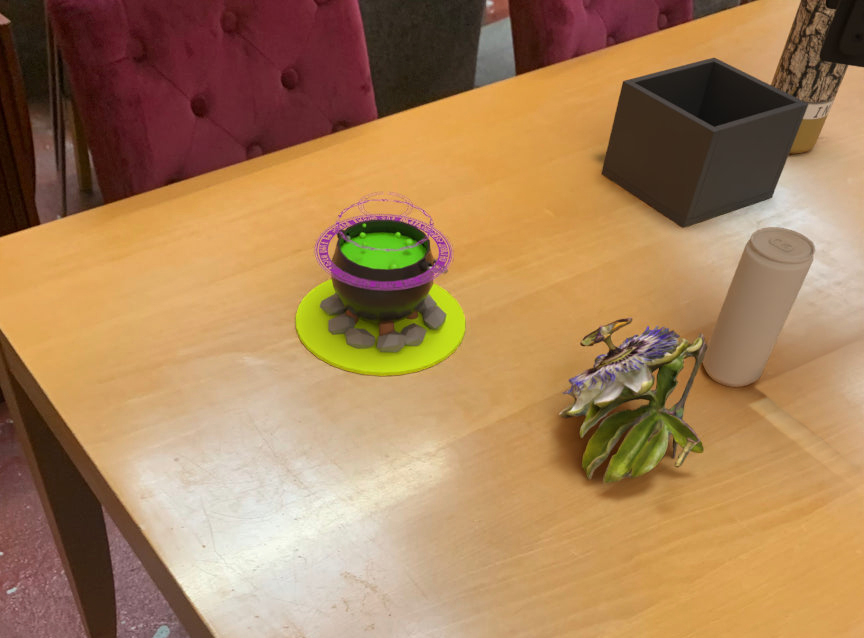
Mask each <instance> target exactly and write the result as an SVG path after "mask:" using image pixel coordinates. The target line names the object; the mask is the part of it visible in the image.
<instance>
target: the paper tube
mask: <svg viewBox="0 0 864 638" xmlns="http://www.w3.org/2000/svg"><path fill="white" fill-rule="evenodd" d="M825 2H826V0H800V2H799V4H798V7H797V10H796V13H795V16H794V19H793V21H792V24H791V26H790V27H791V28H790V30H789V32H788V36H787V38H786V41H785V44H784V47H783V50H782V52H781V55H780V58H779V61H778V63H777V67H776V69H775V72H774V75H773V77H772V80H771V83H770V85H771V86H773V87H775V88H777V89H779V90H781V91H784V92H786V93H788V94H790V95H792V96H794V97H796V98H798V99H800V100H802V101H804V102H806V103H808V107H807V109H806V112H805V115H804V117H803V120H802V122H801V125H800V127H799V130H798V132H797V135H796V137H795V140H794V143H793V145H792V148H791V150H790V153H789V155H791V154H792V155H794V154H801V153H806V152H808V151H810V150H812V149H813V148H814V147H815V145H816V144H817V142H818V139H819V138H820V135H821V133H822V130H823V127H824V125H825V123H826V120H827V118H828V115H829V113H830V112H831V109H832V106H833V105H834V101H835V100H836V97H837V94H838V93H839V90H840V87H841V85H842V82H843V80H844V78H845V75H846V73H847V70H848V68H849V66H850V65H845V64H838V63H832V62H826V61H822V60H821V59H820V50H821V48H822V45H823V42H824V40H825V37H826V35H827V32H828V29H829V27H830V24H831V22H832V19H833V17H834V14H835V11H836V10H835V9H829V8H827V7H826V5H825Z"/></svg>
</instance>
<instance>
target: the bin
mask: <svg viewBox="0 0 864 638" xmlns="http://www.w3.org/2000/svg"><path fill="white" fill-rule="evenodd" d="M807 107H808V103H806V102H804V101H802V100H800V99H798V98H796V97H794V96H792V95H790V94H788V93H786V92H784V91H781V90H779V89H777V88H775V87H773V86H771V84H769V83H768V82H766V81H763V80H761V79H759V78H757V77H755V76H753V75H751V74H749V73H747V72H745V71H743V70H741V69H738V68H737V67H735V66H732V65H731V64H728V63H726V62H724V61H722V60H720V59H718V58H717V57H711V58H707V59H703V60H702V59H701V60H699V61H695V62H690V63H688V64H684V65H678V66H676V67H673V68H668V69H664V70H660V71H657V72H653V73H652V72H651V73H649V74H645V75H641V76H638V77H637V76H636V77H633V78H630V79H625V80H623V81H622V84H621V88H620V92H619V97H618V100H617V105H616V109H615V114H614V118H613V122H612V125H611V130H610V135H609V139H608V143H607V148H606V152H605V157H604V161H603V164H602V168H601V175H603V176H604V177H606V178H608V179H609V180H610V181H612V182H614V184H617V185H618V186H620V187H621V188H622V189H624V190H626V191H627V192H629V193H630V194H632V195H633V196H635V197H636V198H638V199H639V200H641V201H642V202H643V203H644V204H645V203H646V204H647V205H648V206H650V207H651V208H653V209H654V210H656V211H657V212H659V213H660V214H662V215H663V216H664V217H667V218H668V219H670V220H671V221H672V222H674V223H676V224H677V225H679V226H680V227H681V228H687V227H690V226H693V225H695V224H698V223H701V222H705V221H708V220H710V219H714V218H716V217H719V216H722V215H725V214H728V213H731V212H733V211H736V210H739V209H742V208H745V207H749V206H751V205H755V204H757V203H760V202H763V201H765V200H769V199H771V198H773V197H774V194H775V192H776V188H777V185H778V184H779V181H780V178H781V175H782V173H783V170H784V168H785V166H786V162H787V160H788V158H789V155H790V150H791V148H792V145H793V143H794V140H795V137H796V135H797V132H798V130H799V127H800V125H801V122H802V120H803V117H804V115H805V112H806V109H807Z"/></svg>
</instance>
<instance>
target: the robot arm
mask: <svg viewBox="0 0 864 638" xmlns="http://www.w3.org/2000/svg"><path fill="white" fill-rule="evenodd" d="M825 5H826V7H827V8H829V9H835V10H836V11H835V14H834V17H833V19H832V22H831V24H830V27H829V29H828V32H827V35H826V37H825V40H824V42H823V45H822V48H821V50H820V59H821V60H822V61H826V62H832V63H838V64H845V65H849V66H851V67H852V66H853V67H857V68H858V67H859V68H864V0H826V2H825Z"/></svg>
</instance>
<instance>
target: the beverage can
mask: <svg viewBox="0 0 864 638" xmlns="http://www.w3.org/2000/svg"><path fill="white" fill-rule="evenodd" d="M815 253H816V246H815V244H814V243H813V242H812V240H811V239H809V237H807V236H806V235H804V234H802V233H800V232H797V231H795V230H792V229H788V228H784V227H778V226H777V227H775V226H774V227H773V226H769V227H762V228H759V229H757V230H755V231H753V232H752V234H751V235H750V238H749V239H748V240H747V242H746V243H745V246H744V248H743V251H742V253H741V256H740V259H739V261H738V264H737V266H736V269H735V272H734V274H733V277H732V280H731V282H730V285H729V287H728V290H727V292H726V295H725V298H724V300H723V303H722V306H721V308H720V311H719V313H718V316H717V319H716V321H715V323H714V327H713V329H712V331H711V334H710V337H709V340H708V343H707V345H706V346H708V347H707V350H706V352H705V355H704V359H703V361H702V365H703V368H704V370H705V372H706V373H707V375H708V377H710V378H711V380H713V381H715V382H716V383H718V384H720V385H724V386H727V387H732V388H733V387H734V388H742V387H746V386H749V385H751V384H754V383H755V382H757V381H758V380H759V379H760V378H761V376H762V374H763V372H764V371H765V367H766V366H767V363H768V362H769V359H770V357H771V355H772V352H773V350H774V348H775V345H776V343H777V341H778V339H779V337H780V335H781V332H782V330H783V328H784V326H785V324H786V321H787V319H788V317H789V315H790V312H791V310H792V309H793V306H794V304H795V302H796V300H797V297H798V295H799V293H800V290H801V288H802V287H803V284H804V282H805V279H806V277H807V276H808V272H809V271H810V268H811V266H812V264H813V263H814V255H815Z"/></svg>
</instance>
